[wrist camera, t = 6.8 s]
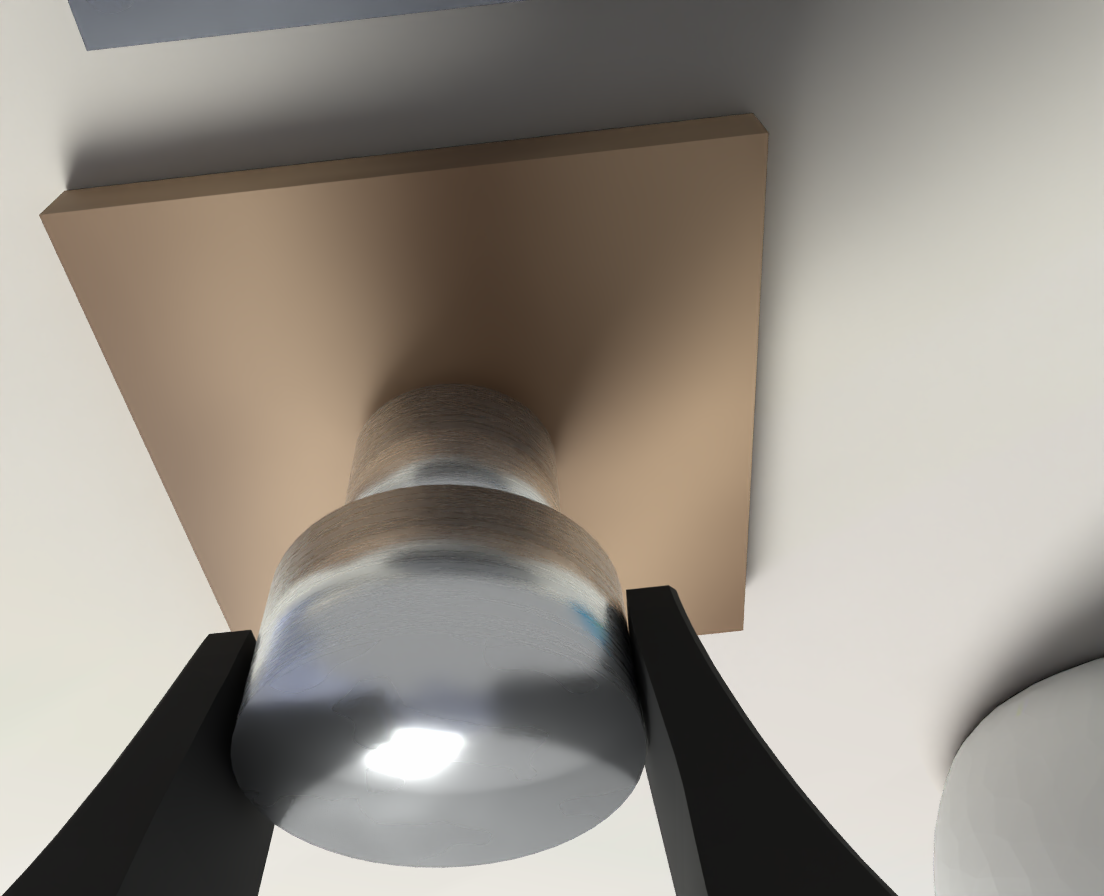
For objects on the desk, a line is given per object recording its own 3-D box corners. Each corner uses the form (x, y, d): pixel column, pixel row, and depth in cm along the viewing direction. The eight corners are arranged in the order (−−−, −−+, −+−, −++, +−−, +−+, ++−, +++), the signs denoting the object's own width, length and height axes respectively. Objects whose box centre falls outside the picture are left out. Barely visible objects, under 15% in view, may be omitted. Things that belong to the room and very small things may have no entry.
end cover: (341, 577, 18) (289, 882, 13) (274, 356, 14) (171, 655, 10) (603, 555, 18) (644, 850, 13) (595, 329, 14) (648, 615, 10)
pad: (263, 647, 21) (254, 681, 20) (64, 190, 14) (39, 215, 13) (733, 597, 21) (743, 630, 20) (752, 112, 14) (768, 132, 13)
